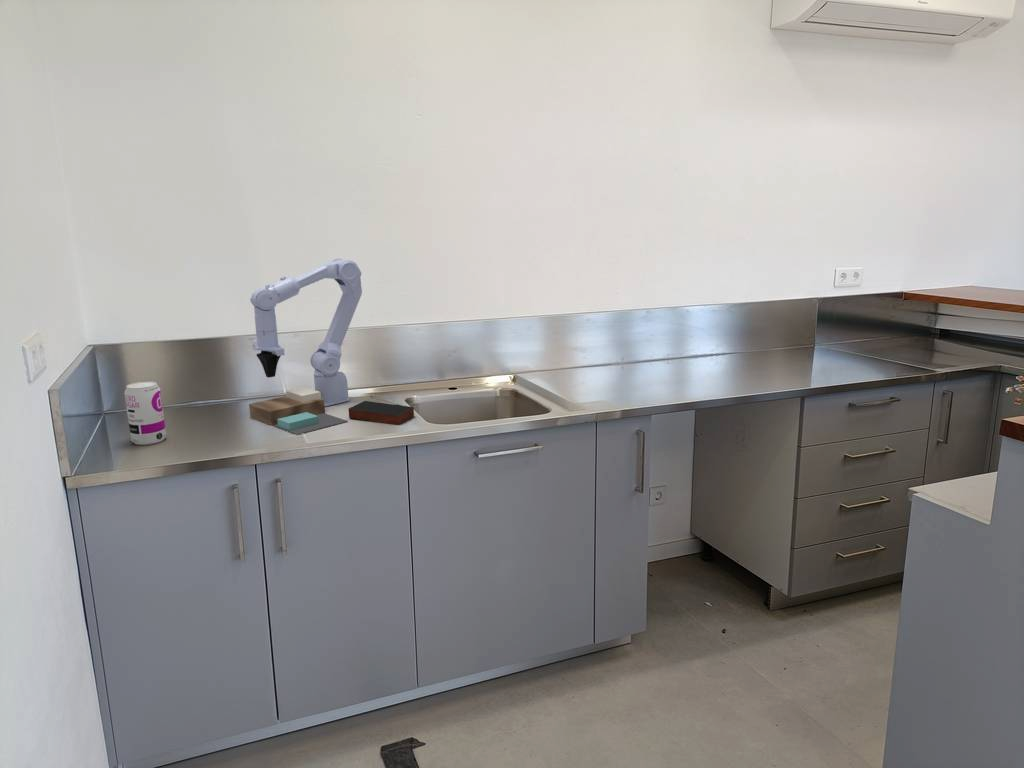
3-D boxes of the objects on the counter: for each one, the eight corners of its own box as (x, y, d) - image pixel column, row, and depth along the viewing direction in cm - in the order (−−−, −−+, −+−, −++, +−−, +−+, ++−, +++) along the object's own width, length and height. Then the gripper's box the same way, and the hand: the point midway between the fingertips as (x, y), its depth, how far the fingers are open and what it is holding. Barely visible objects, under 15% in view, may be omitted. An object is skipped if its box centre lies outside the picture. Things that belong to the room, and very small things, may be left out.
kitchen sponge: (399, 426, 201) (425, 411, 214) (398, 415, 200) (425, 401, 213) (342, 418, 207) (371, 403, 221) (341, 408, 206) (370, 394, 220)
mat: (323, 413, 212) (323, 413, 212) (347, 421, 204) (347, 420, 204) (273, 426, 200) (273, 425, 200) (296, 435, 192) (296, 434, 192)
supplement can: (171, 435, 193) (164, 380, 190) (158, 445, 185) (150, 388, 182) (140, 436, 193) (133, 381, 189) (125, 446, 185) (117, 389, 181)
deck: (302, 405, 221) (301, 392, 220) (324, 412, 213) (323, 399, 212) (250, 417, 209) (248, 403, 208) (271, 425, 201) (270, 411, 200)
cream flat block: (286, 397, 215) (285, 390, 214) (304, 393, 219) (303, 386, 219) (302, 402, 209) (302, 395, 208) (321, 398, 213) (320, 391, 213)
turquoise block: (318, 416, 201) (318, 423, 202) (306, 412, 205) (306, 418, 206) (288, 423, 195) (289, 430, 195) (277, 419, 199) (277, 426, 199)
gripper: (241, 329, 211) (245, 375, 215) (266, 335, 202) (270, 383, 205) (263, 326, 216) (267, 371, 220) (289, 332, 207) (293, 378, 210)
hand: (270, 376), depth 213 cm, fingers closed
